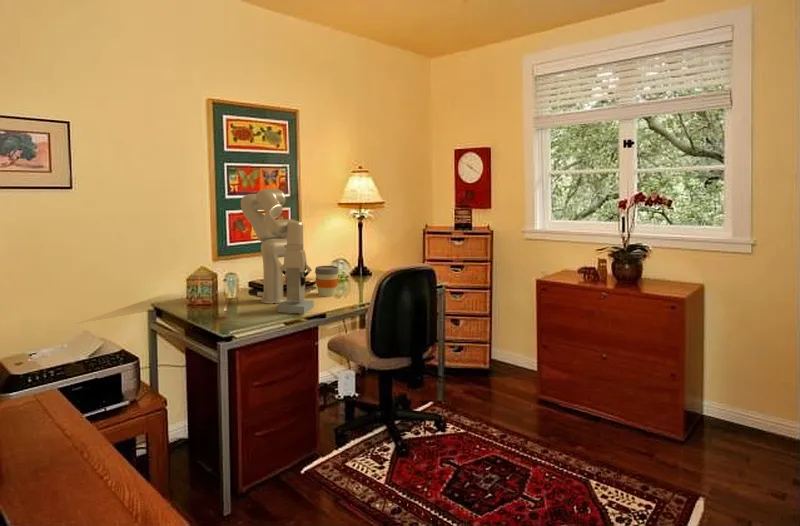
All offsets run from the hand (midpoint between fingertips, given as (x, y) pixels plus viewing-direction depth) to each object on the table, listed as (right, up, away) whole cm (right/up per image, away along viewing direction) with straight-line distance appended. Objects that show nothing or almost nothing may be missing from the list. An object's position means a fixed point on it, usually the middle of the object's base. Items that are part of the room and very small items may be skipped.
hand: (295, 284), depth 258 cm
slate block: (0, -13, +2) cm, 13 cm away
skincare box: (0, -7, +1) cm, 7 cm away
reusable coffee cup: (+10, -7, +35) cm, 37 cm away
